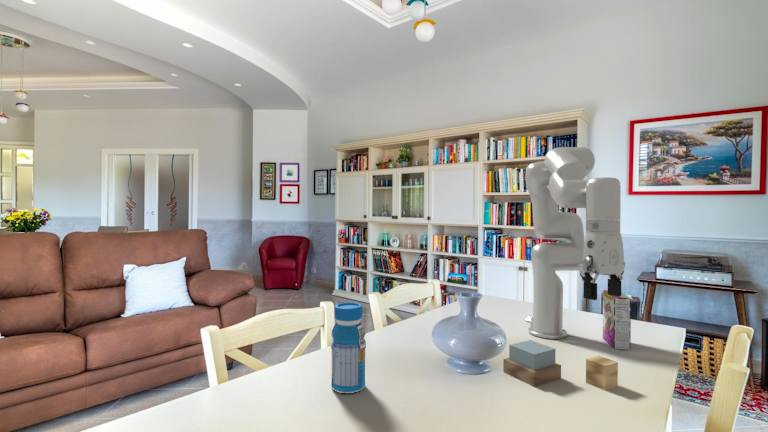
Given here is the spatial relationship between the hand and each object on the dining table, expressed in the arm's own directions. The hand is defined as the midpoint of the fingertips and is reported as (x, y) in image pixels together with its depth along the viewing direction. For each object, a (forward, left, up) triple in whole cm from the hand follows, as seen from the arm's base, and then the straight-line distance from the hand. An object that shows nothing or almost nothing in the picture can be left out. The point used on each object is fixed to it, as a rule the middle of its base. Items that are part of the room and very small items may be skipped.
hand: (602, 297), depth 100 cm
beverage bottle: (-28, -56, -22) cm, 66 cm away
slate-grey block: (-12, -11, -18) cm, 24 cm away
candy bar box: (-16, +32, -22) cm, 42 cm away
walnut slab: (-12, -11, -22) cm, 28 cm away
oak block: (0, 0, -22) cm, 22 cm away
